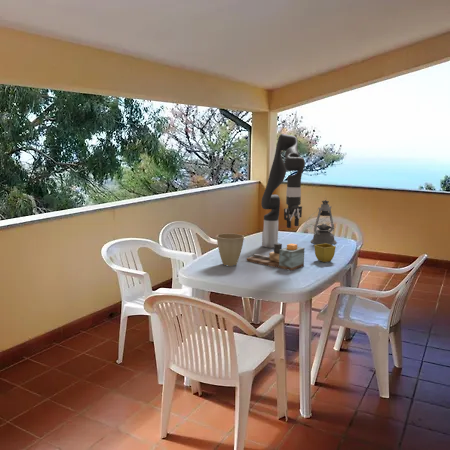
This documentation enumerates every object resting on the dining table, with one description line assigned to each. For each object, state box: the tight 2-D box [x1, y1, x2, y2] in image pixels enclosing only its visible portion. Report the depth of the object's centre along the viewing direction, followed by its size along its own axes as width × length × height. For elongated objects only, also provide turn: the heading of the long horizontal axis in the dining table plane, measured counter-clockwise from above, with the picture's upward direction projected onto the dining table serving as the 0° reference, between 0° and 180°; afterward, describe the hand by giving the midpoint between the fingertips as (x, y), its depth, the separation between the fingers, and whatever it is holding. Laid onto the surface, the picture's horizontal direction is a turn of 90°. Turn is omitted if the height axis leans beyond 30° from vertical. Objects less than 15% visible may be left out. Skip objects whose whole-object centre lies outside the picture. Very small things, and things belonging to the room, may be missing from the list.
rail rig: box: [246, 246, 305, 271], centre depth 254 cm, size 30×12×10 cm, turn 49°
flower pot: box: [313, 243, 337, 263], centre depth 260 cm, size 9×9×9 cm
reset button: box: [286, 243, 298, 250], centre depth 246 cm, size 4×4×3 cm
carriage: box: [268, 242, 283, 262], centre depth 252 cm, size 7×6×10 cm
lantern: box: [305, 198, 338, 245], centre depth 307 cm, size 18×20×30 cm
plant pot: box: [216, 233, 245, 267], centre depth 251 cm, size 15×15×16 cm
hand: (292, 226), depth 244 cm, fingers open, 7 cm apart
